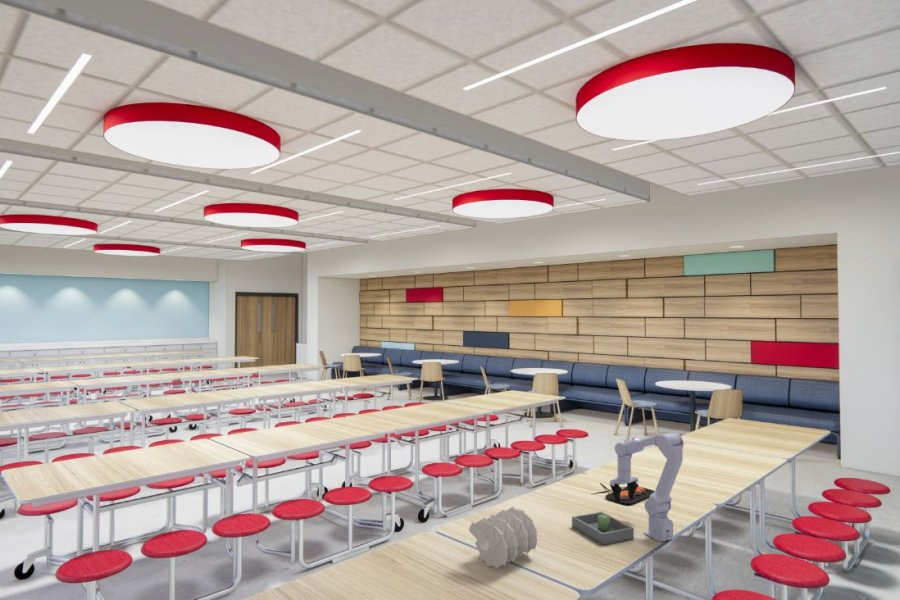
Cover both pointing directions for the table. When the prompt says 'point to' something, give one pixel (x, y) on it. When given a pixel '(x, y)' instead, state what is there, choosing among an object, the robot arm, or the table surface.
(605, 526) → the green rounded tapered piece
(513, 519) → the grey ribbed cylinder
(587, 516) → the bin
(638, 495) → the sushi plate
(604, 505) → the table surface
